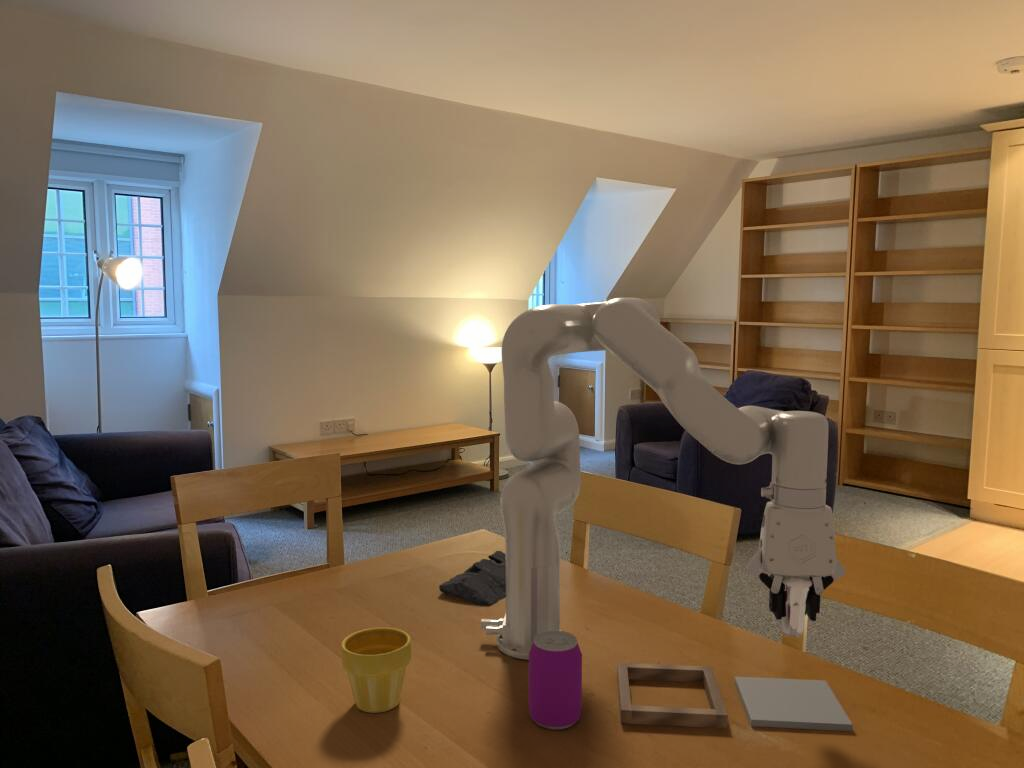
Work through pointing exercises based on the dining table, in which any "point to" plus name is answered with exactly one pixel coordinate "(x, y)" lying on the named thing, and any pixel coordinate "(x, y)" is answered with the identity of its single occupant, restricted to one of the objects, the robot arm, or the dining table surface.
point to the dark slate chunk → (480, 581)
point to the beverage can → (555, 680)
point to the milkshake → (794, 604)
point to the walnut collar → (671, 715)
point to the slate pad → (791, 704)
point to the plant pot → (376, 666)
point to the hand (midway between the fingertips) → (793, 615)
